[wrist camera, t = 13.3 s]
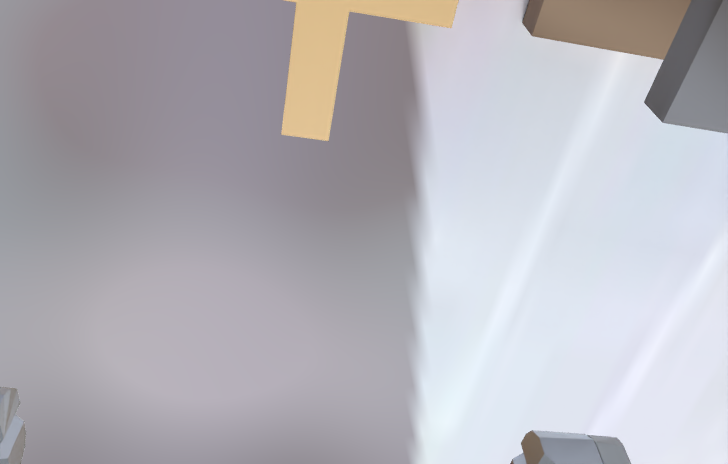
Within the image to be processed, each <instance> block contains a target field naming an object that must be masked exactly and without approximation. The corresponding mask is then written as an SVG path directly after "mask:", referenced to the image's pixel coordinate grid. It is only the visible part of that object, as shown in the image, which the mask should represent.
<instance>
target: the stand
mask: <svg viewBox="0 0 728 464" xmlns="http://www.w3.org/2000/svg"><path fill="white" fill-rule="evenodd" d="M522 23H523V24H524V26H525V27H526V29H527V30H528V31H529V33H530V34H531V35H532V36H534V37H540V38H546V39H551V40H557V41H562V42H568V43H574V44H579V45H585V46H590V47H596V48H602V49H607V50H613V51H618V52H624V53H630V54H635V55H641V56H646V57H652V58H658V59H663V60H664V61H663V63H662V65H661V67H660V69H659V71H658V73H657V76H656V78H655V80H654V82H653V84H652V86H651V88H650V91H649V93H648V95H647V97H646V99H645V101H644V103H645V104H646V105H647V106H648V107H649V108H650V109H651V110H652V112H653V113H654V114H655V115H656V116H657V117H658V118H659V119H660V120H661V121H662V122H663V123H668V124H674V125H680V126H686V127H692V128H698V129H704V130H710V131H716V132H722V133H728V0H529V4H528V7H527V10H526V13H525V16H524V19H523V22H522Z"/></svg>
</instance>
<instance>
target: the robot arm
mask: <svg viewBox="0 0 728 464" xmlns="http://www.w3.org/2000/svg"><path fill="white" fill-rule="evenodd" d="M19 405H20V399H19V395H18V391H17V389H15V388H6V387H0V464H21V461H22V457H23V452H24V448H25V437H26V436H25V435H26V431H25V424H24V421H23V420H22V419H20V418H19V417H18V416H17V415H16V414H15V413H16V411H17V409H18V407H19ZM521 445H522V449H523V453H522V454H520V455H519V456H517V457H515V458H514V459H512V461H511V463H510V464H631V462H630V460H629V457H628V455H627V453H626V451H625V448H624V446H623V444H622V443H621V442H620V440H619V439H618V438H616V437H607V436H593V435H585V434H577V433H563V432H548V431H533V430H532V431H530V432H528V433H527V434H526V435H525V437H524V439H523V440H522V442H521Z"/></svg>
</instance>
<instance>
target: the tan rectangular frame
mask: <svg viewBox="0 0 728 464" xmlns="http://www.w3.org/2000/svg"><path fill="white" fill-rule="evenodd" d="M285 1H291V2H296V11H295V20H294V28H293V37H292V47H291V56H290V64H289V72H288V82H287V90H286V99H285V107H284V116H283V125H282V135H289V136H296V137H303V138H311V139H317V140H325V141H328V140H329V134H330V127H331V121H332V115H333V108H334V103H335V96H336V90H337V83H338V77H339V71H340V65H341V59H342V53H343V47H344V40H345V34H346V28H347V22H348V15H349V11H351V12H357V13H363V14H369V15H375V16H382V17H387V18H393V19H399V20H405V21H411V22H417V23H423V24H429V25H435V26H441V27H447V28H452V24H453V20H454V16H455V12H456V8H457V4H458V0H285Z"/></svg>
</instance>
